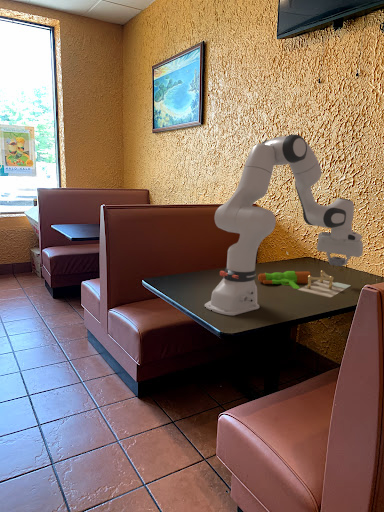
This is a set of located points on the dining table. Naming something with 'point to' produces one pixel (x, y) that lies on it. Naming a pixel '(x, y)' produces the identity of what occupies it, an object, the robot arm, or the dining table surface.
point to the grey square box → (336, 261)
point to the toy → (285, 278)
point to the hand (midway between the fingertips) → (337, 263)
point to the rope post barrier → (321, 279)
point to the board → (322, 289)
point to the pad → (341, 285)
